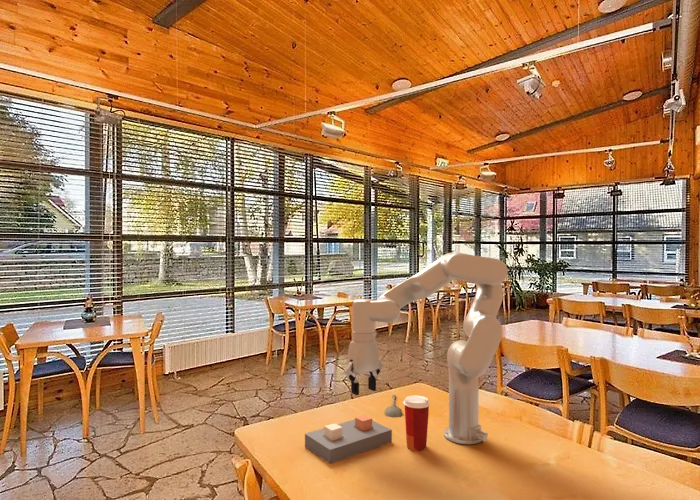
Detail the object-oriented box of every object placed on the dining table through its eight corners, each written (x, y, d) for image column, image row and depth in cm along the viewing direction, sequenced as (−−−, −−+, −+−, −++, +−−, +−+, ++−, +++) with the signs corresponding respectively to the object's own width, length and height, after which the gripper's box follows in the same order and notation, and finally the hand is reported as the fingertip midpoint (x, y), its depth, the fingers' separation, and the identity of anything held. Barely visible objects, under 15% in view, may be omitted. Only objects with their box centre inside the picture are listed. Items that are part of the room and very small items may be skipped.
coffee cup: (432, 444, 140) (432, 397, 140) (425, 454, 132) (426, 405, 132) (407, 439, 143) (407, 393, 143) (399, 449, 136) (399, 401, 136)
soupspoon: (383, 420, 163) (401, 421, 162) (384, 411, 163) (402, 412, 162) (386, 398, 184) (402, 399, 184) (387, 390, 184) (402, 391, 183)
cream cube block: (342, 440, 136) (342, 427, 136) (331, 444, 133) (331, 430, 133) (334, 436, 139) (334, 423, 139) (324, 439, 136) (324, 426, 136)
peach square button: (372, 431, 143) (372, 418, 143) (362, 434, 140) (362, 421, 140) (364, 427, 146) (364, 414, 146) (355, 430, 144) (355, 417, 144)
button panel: (391, 442, 141) (391, 429, 141) (330, 463, 127) (330, 449, 127) (364, 428, 152) (364, 416, 152) (304, 446, 138) (304, 433, 138)
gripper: (376, 332, 151) (376, 384, 151) (335, 338, 141) (335, 394, 141) (391, 335, 145) (391, 390, 145) (349, 342, 135) (349, 400, 135)
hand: (363, 391), depth 143 cm, fingers open, 6 cm apart
